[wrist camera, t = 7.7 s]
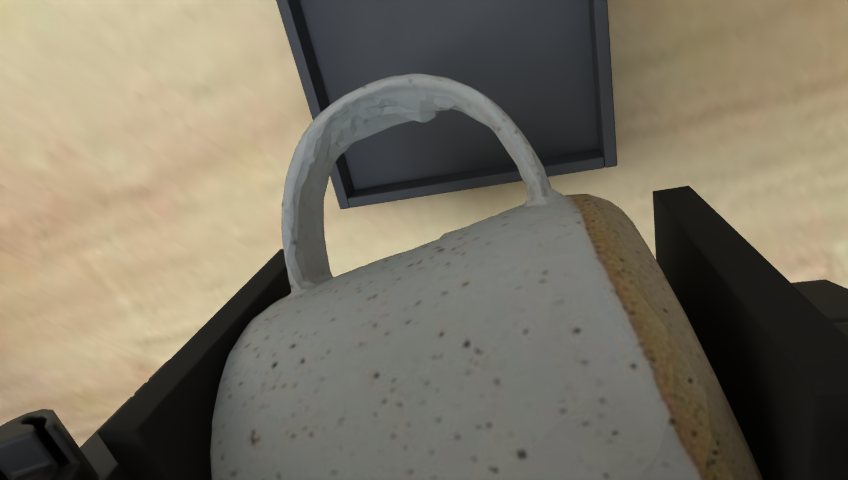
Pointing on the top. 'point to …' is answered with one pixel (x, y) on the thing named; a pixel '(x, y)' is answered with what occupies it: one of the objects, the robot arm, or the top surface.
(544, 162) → the tray
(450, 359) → the ceramic mug
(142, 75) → the top surface
